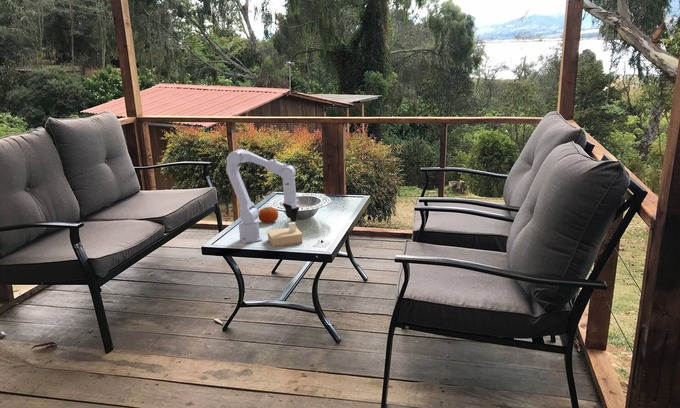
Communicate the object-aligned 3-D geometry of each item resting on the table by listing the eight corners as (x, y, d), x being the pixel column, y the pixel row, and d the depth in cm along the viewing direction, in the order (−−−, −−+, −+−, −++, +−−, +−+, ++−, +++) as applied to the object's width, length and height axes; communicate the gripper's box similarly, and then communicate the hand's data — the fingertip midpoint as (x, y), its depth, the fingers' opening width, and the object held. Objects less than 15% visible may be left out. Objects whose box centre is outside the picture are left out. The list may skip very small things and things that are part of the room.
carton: (273, 247, 235) (272, 239, 234) (268, 239, 246) (267, 232, 245) (302, 243, 239) (301, 235, 238) (296, 235, 250) (295, 228, 249)
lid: (272, 239, 233) (271, 229, 232) (267, 231, 245) (266, 222, 244) (302, 234, 238) (301, 225, 236) (296, 227, 249) (295, 218, 248)
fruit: (270, 218, 282) (269, 204, 280) (282, 221, 275) (281, 207, 273) (255, 222, 275) (253, 208, 273) (266, 226, 268) (265, 211, 266)
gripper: (301, 193, 232) (303, 222, 235) (294, 187, 245) (296, 214, 249) (286, 195, 230) (288, 224, 233) (280, 189, 243) (282, 216, 247)
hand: (291, 219), depth 241 cm, fingers open, 7 cm apart
